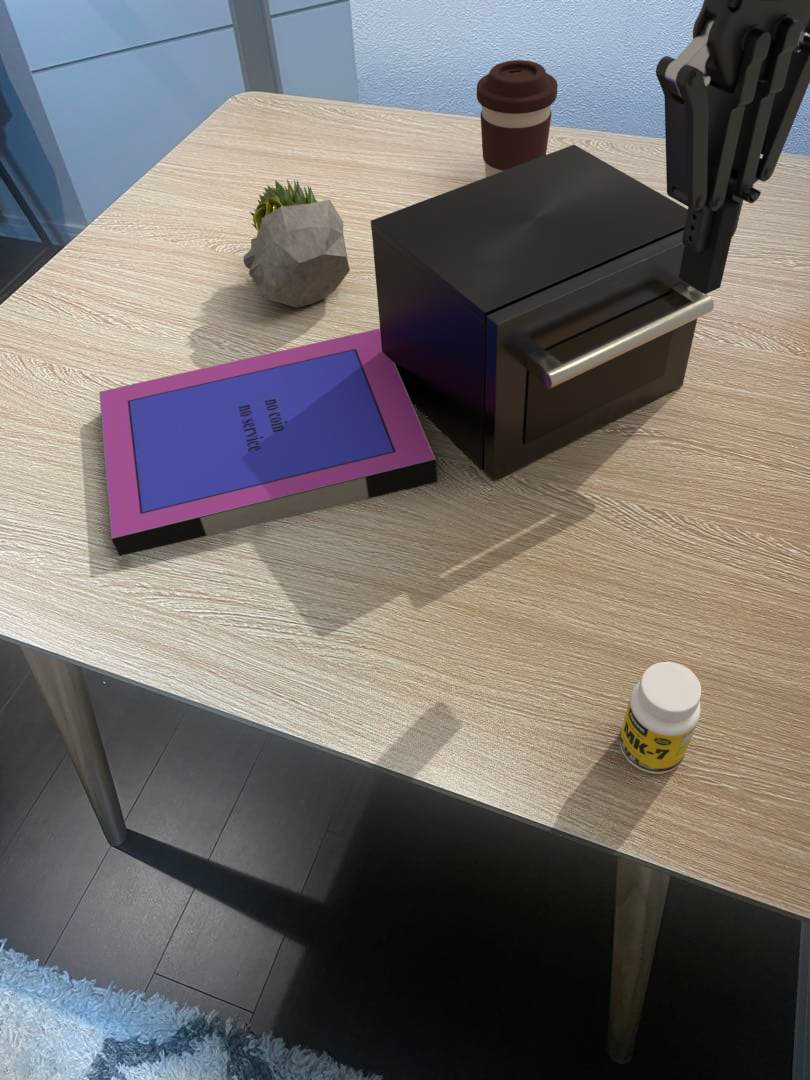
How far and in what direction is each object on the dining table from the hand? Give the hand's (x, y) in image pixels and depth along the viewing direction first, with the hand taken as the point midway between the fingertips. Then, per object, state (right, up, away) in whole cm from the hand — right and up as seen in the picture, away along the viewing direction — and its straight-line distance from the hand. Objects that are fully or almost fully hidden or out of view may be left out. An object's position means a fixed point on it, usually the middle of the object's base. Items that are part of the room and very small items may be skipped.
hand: (699, 282), depth 67 cm
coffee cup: (-7, +28, +56) cm, 63 cm away
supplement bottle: (-3, -34, +1) cm, 34 cm away
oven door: (-2, -9, +23) cm, 24 cm away
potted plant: (-35, +12, +43) cm, 57 cm away
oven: (-9, -2, +30) cm, 31 cm away
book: (-36, -9, +25) cm, 45 cm away
